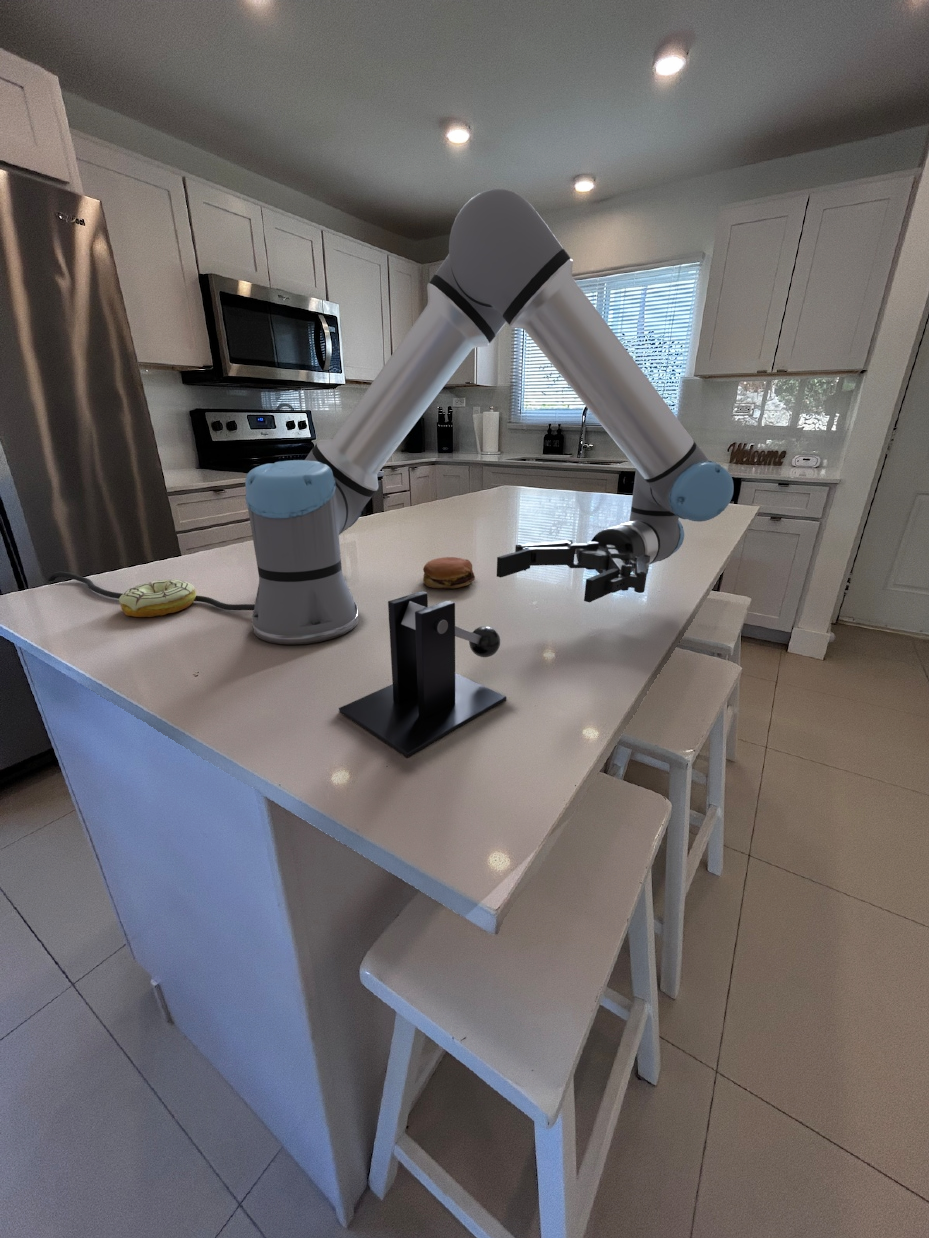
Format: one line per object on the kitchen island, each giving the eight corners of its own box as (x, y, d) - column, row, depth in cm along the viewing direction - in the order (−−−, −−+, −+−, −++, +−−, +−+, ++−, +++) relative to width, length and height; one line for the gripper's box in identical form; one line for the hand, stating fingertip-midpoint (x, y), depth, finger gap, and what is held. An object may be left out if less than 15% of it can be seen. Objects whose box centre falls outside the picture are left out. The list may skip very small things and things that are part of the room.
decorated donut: (115, 608, 84) (109, 586, 82) (185, 593, 91) (180, 573, 89) (132, 625, 77) (126, 601, 75) (206, 608, 84) (202, 586, 82)
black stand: (437, 674, 63) (435, 575, 58) (506, 708, 56) (510, 597, 51) (339, 720, 53) (328, 605, 48) (407, 767, 46) (402, 638, 41)
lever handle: (476, 654, 61) (487, 626, 61) (499, 664, 59) (510, 635, 59) (394, 627, 50) (406, 593, 50) (418, 638, 48) (431, 602, 48)
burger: (414, 581, 98) (413, 557, 96) (453, 573, 103) (453, 550, 101) (443, 595, 90) (443, 570, 88) (484, 585, 95) (484, 561, 94)
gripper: (700, 591, 71) (628, 634, 57) (552, 558, 87) (467, 584, 73) (710, 539, 69) (637, 569, 54) (556, 514, 85) (468, 533, 70)
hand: (540, 578), depth 64 cm, fingers open, 13 cm apart
